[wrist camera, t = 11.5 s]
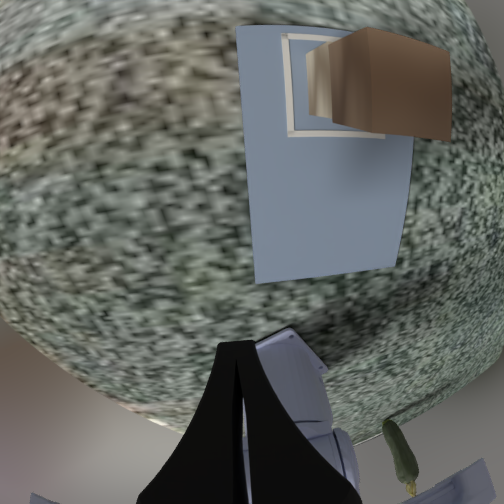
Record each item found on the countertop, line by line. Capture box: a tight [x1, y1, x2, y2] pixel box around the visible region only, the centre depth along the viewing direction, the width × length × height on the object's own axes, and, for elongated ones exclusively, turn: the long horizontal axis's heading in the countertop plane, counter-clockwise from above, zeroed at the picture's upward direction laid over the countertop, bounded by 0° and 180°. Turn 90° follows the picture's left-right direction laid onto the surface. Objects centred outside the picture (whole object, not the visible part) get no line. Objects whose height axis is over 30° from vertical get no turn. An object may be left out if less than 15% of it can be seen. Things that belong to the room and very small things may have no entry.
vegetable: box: [382, 419, 419, 497], centre depth 34 cm, size 4×4×20 cm
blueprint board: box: [235, 25, 414, 284], centre depth 17 cm, size 18×12×1 cm, turn 4°
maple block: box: [306, 41, 333, 119], centre depth 12 cm, size 4×4×4 cm
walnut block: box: [328, 27, 452, 142], centre depth 9 cm, size 4×4×4 cm
